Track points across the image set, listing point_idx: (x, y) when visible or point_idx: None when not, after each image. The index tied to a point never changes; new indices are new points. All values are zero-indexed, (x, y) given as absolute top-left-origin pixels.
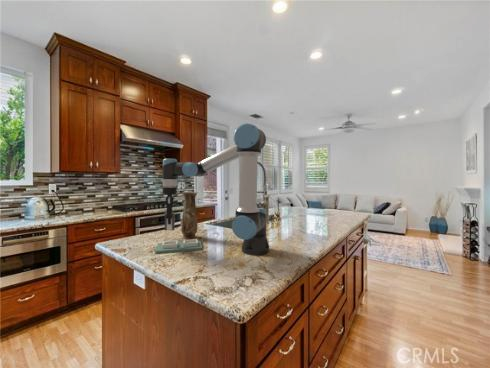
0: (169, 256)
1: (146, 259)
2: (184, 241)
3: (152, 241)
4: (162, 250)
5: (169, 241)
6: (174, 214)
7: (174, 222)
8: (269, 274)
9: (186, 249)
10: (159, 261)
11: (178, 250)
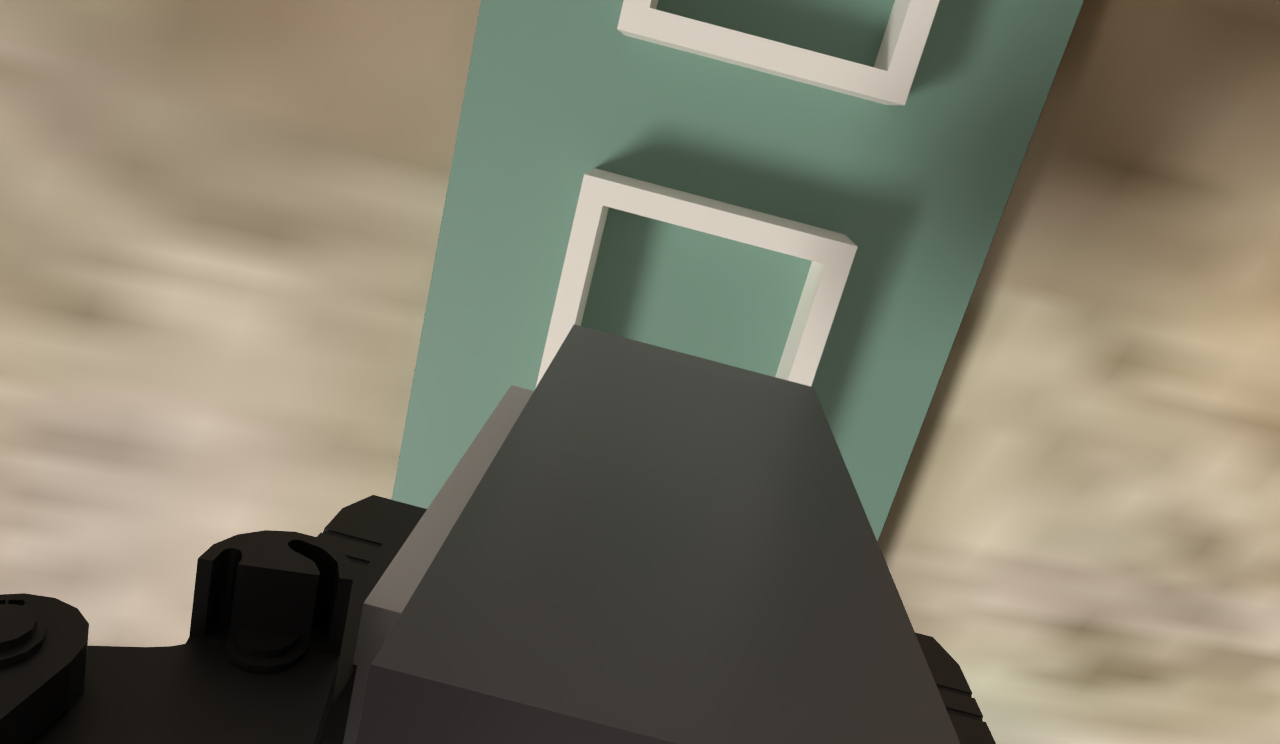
0: (1137, 434)
1: (1050, 739)
2: (754, 38)
3: (103, 524)
4: (878, 514)
5: None
6: (781, 706)
7: (695, 441)
8: None
9: (1048, 78)
10: (1267, 608)
11: (986, 240)
